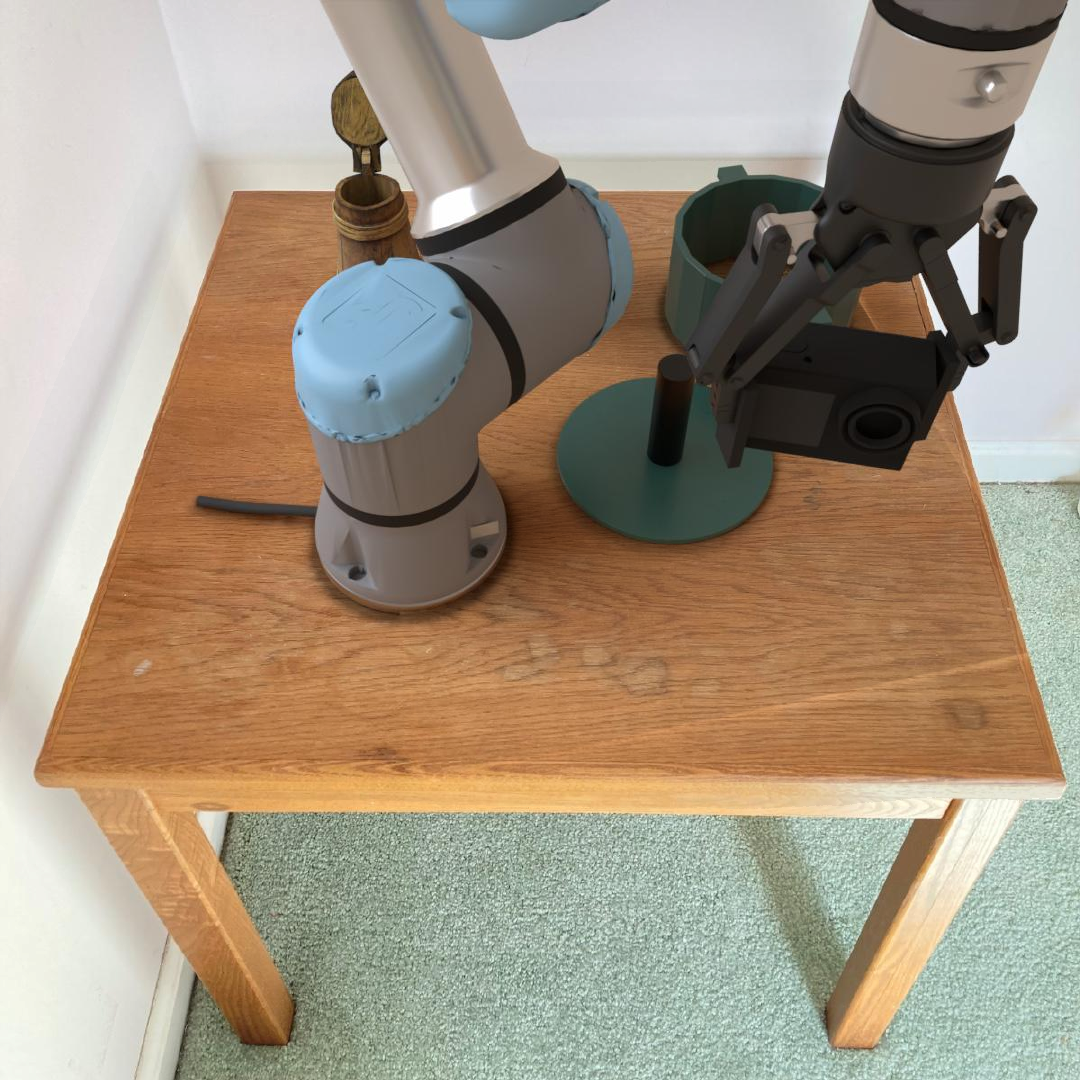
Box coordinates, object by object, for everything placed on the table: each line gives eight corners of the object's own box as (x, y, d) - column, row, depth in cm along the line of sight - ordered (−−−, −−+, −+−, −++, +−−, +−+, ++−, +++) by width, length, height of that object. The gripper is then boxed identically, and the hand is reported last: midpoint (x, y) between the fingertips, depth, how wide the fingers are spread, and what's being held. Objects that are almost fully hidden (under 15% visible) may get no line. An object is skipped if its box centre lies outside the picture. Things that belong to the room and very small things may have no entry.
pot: (705, 414, 91) (720, 333, 84) (635, 253, 104) (643, 171, 97) (888, 383, 93) (919, 301, 86) (797, 230, 107) (817, 147, 99)
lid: (586, 567, 81) (591, 476, 72) (536, 404, 92) (535, 307, 83) (802, 526, 84) (834, 433, 75) (730, 372, 94) (750, 274, 85)
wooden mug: (429, 229, 107) (412, 61, 92) (428, 317, 99) (409, 148, 84) (343, 232, 106) (312, 64, 92) (335, 320, 98) (299, 151, 84)
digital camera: (725, 460, 62) (744, 377, 56) (733, 396, 65) (752, 311, 59) (900, 488, 61) (938, 406, 55) (900, 421, 64) (936, 337, 58)
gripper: (696, 182, 42) (648, 513, 59) (1223, 123, 44) (1026, 457, 62) (650, 83, 46) (618, 418, 64) (1132, 35, 49) (973, 370, 66)
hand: (819, 437), depth 63 cm, fingers closed on digital camera, 11 cm apart
